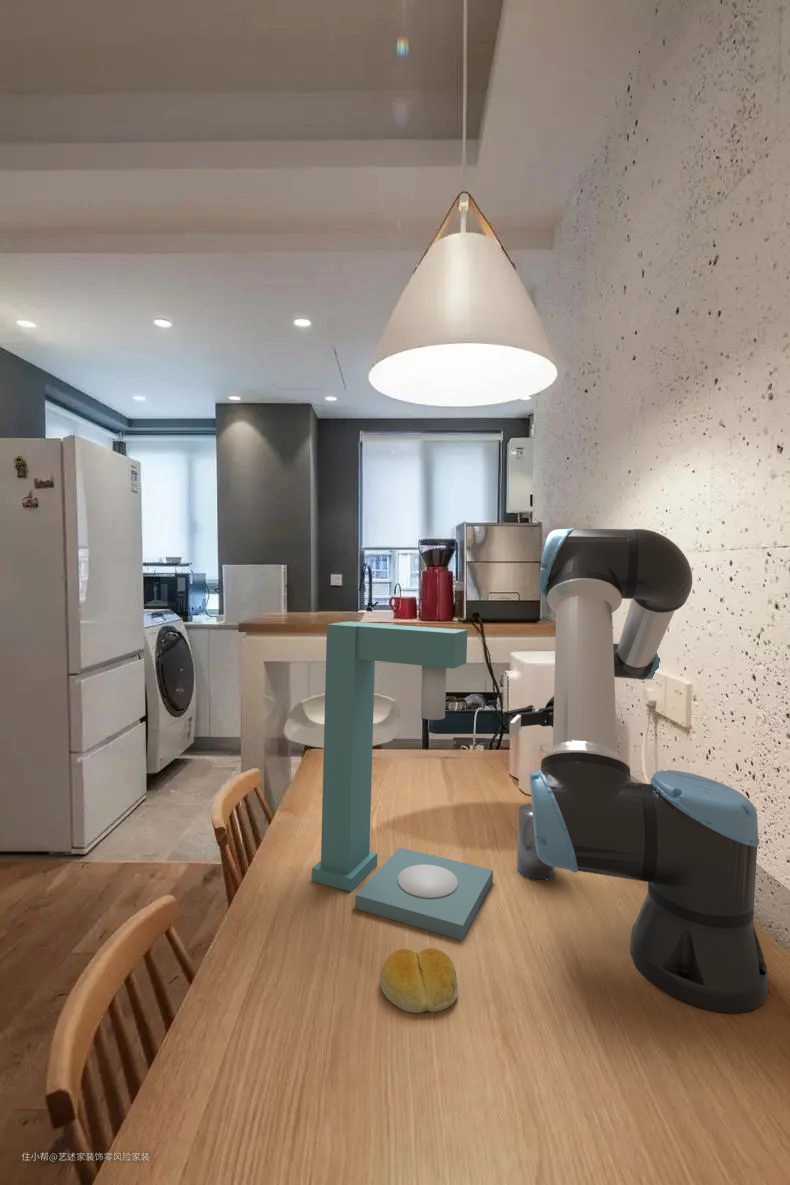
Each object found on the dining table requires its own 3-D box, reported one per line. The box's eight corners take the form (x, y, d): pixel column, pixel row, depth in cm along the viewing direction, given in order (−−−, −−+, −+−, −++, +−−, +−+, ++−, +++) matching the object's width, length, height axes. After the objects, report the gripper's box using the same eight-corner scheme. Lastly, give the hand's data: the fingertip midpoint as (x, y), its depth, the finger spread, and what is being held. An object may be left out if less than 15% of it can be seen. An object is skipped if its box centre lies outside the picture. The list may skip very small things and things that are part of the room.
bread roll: (379, 966, 71) (380, 934, 70) (451, 966, 71) (452, 934, 71) (380, 1018, 62) (381, 982, 62) (462, 1018, 63) (463, 982, 63)
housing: (560, 880, 92) (563, 806, 91) (523, 881, 91) (526, 806, 90) (546, 861, 97) (548, 791, 97) (512, 862, 97) (514, 792, 96)
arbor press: (492, 882, 90) (501, 629, 89) (462, 940, 76) (472, 638, 74) (349, 846, 101) (356, 619, 99) (299, 891, 86) (305, 626, 85)
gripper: (627, 735, 117) (623, 767, 98) (506, 719, 127) (480, 745, 108) (629, 699, 117) (625, 723, 97) (507, 686, 127) (482, 706, 107)
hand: (549, 735), depth 102 cm, fingers open, 13 cm apart
